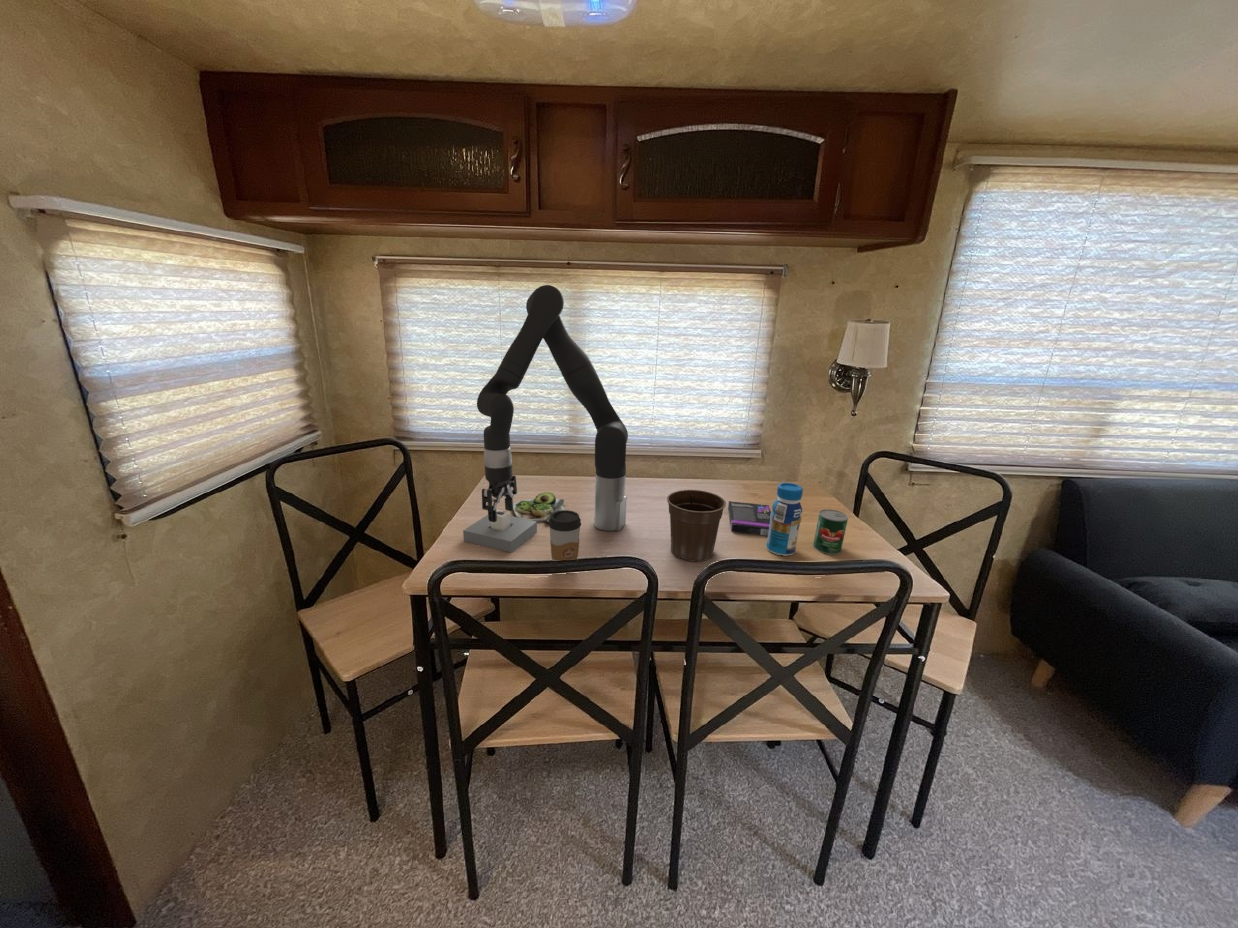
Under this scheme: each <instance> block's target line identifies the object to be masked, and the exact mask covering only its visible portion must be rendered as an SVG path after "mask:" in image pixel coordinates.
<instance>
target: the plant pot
mask: <svg viewBox="0 0 1238 928" xmlns="http://www.w3.org/2000/svg"><path fill="white" fill-rule="evenodd" d="M666 502H667V503H668V513H669V517H670V519H669V521H670V522H669V523H670V526H669V527H670V552H671V553H672V554H673V555H674V556H675V557H677V558H679V559H685V560H686V561H687V562H688V561H689V562H703V561H707V560H709V559H710V558H711V557H712V556H713V555H714V551H715V547H716V546H715V545H716V542H717V537H718V532H719V531H718V530H719V527H720V522H721V519H722V518H723V512H724V510H725V508H726V505H727V502H726V500H725V499H724V498H723V497H721V496H720V495H718V494H715V493H712V492H709V491H706V490H699V489H682V490H681V489H680V490H677V491H674V492H673V491H672V492H670V494H668V496H667V497H666Z"/></svg>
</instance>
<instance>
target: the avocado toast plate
mask: <svg viewBox="0 0 1238 928" xmlns="http://www.w3.org/2000/svg"><path fill="white" fill-rule="evenodd" d="M564 502H565V499H563V498H560V499H557V498H556V495H554V493H552V492H548V491H547V492H545V491H544V492H541V493H538V494H537V495H536V496H535V498H531V499H530V498H529V499H519V500H517V501H515V502H513V510H512V511H513V513H514V515H515V517H517V518H522V519H527V520H531V521H536V522H537V523H542V522H543V523H544V522H545V523H549V519H550V518H551V514H552V513H554V512H557V511H561V510H565V508H564V506H563V504H564ZM522 514H526V515H527V514H528V515H532V516H534V517H533V518H527V517H524V516H523V515H522Z"/></svg>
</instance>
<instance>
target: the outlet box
mask: <svg viewBox="0 0 1238 928" xmlns="http://www.w3.org/2000/svg"><path fill="white" fill-rule="evenodd" d="M537 523H538V522H536V521H531V520H527V519H522V518H517V517H516V516H512V515H510V527H509V528H508V529H507V530H505V531H504V532H503V531H499V530H494V529H491V522H490V521H489V519H488V514H487V515H485V516H483V517H481V518H480V519H479V520H477V521H476V522H473V524H470V526H468V527H466V528H465V529H463V530H462V534H463V542H464V543H470V544H473V545H479V546H480V547H481V546H482V547H487V548H490V549H495V550H499V551H502V550H504V551H503V552H506V551H508V552H507V553H511V552H512V553H513V552H515V551H516V550H517V549H518V548H519V547H521V546H522V545H523V544H524V543H525V542H527V541H528V540H530V538H532V537H531V536H532V535H533V536H534V535H536V533H538V525H537ZM515 549H516V550H515Z"/></svg>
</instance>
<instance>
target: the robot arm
mask: <svg viewBox="0 0 1238 928" xmlns="http://www.w3.org/2000/svg"><path fill="white" fill-rule="evenodd" d="M564 302H565V301H564V295H563V294H562V292H561V291H560V290H559V289H558V288H557V287H556V286H553V285H550V284H544V285H540V286H539V287H537V288H536V289H534V290H533V292H532V293H530V295H529V297H528V298H527V300H526V304H525V306H526V307H525V308H526V312H527V315H526V318H525V320H524V322H523V324H522V326H521V328H520V330H519V331H518V334H517V335H516V336H515V338H514V340H513V342H512V343H510V346H509V347H508V349H507V350H506V352H505V355H503V359H502V360H501V362H500V364H499V366H498V367H497V371H496V372H495V374H493V376H492V377H491V378H490V379H489V380H488V382H487V383H486V384H485V385H484V387H483V388H482V389H481V391H480V392H479V394H478V396H477V400H476V408H477V410H478V412H479V413H481V414H482V415H483V416H485V417H489V418H490V423H489V425H488V426H486V427H485V428H484V430H483V447H484V448H483V449H484V450H483V462H484V476H485V477H484V478H485V480H486V481H487V482H488V488H482V489H481V509H482V510H483V511H487V515H488V519H489V521H490V522H496V521H497V514H496V511H497V506H498V504H499V503H500V502H501V499H502V498H503V497H505V498H504V509H505V511H507V512H512V511H513V504H514V501H513V500H514V498H515V495H517V493H518V488H517V486H518V484H517V477H516V475H514V474H513V458H512V449H511V436H510V431H511V428H512V425H513V423H512V422H513V418H514V409H515V408H514V404H513V401H512V398H511V397H510V396H509V395H508V393H509V392H510V391H511V390H516V389H518V388H519V386H520V385H521V383H522V382H523V379H524V378H525V375H526V373H527V372H528V369H529V367H530V365H531V363H532V361H533V359H534V356H535V354H536V353H537V350H538V348H539V346H540V345H541V342H542V341H543V340H544V342H545V343H546V345H547V347H548V349H549V351H550V354H551V356H552V357H553V359H554V362H555V363H556V365H557V367H558V370H559V371H560V373H561V376H562V377H563V379H564V381H565V382H566V383H565V384H567V387H568V388H569V390H570V392H571V393H572V395H573V396H574V398H575V399H576V400H577V401H578V403H580V404H581V405H582V406H583V407H584V409H585V410H586V411H587V413H588V414H589V416H590V418H591V420H592V423H593V424H594V426H595V429H596V435H595V438H594V467H595V481H594V482H595V486H594V489H595V490H594V519H593V520H594V522H593V523H594V527H596V528H597V529H598V530H600V531H609V532H611V531H618V532H620V531H621V529H622V528H623V527H624V526H625V525H626V521H627V520H626V519H627V500H628V497H627V496H626V495H625V494H626V492H625V491H626V471H627V465H626V464H627V463H626V462H627V461H626V457H627V456H626V455H627V453H626V452H627V443H628V440H629V439H628V438H629V433H628V429H627V427H626V425H625V424H624V422H623V421H622V420H621V418H620V416H619V415H618V412H617V411H616V410H615V409H614V408H613V405H612V404H611V402H610V400H609V397H608V396H607V395H608V394H607V393H606V390H605V389H604V386H603V383H602V381H601V379H600V377H599V375H598V373H597V371H596V369H595V367H594V365H593V363H592V361H591V359H590V358H589V356H588V354H587V353H586V352H585V350H584V349H583V348H582V347H581V346H580V345H579V344H578V343H577V342H576V341H575V340H574V339H573V338H572V336H571V335H570V334H569V332H568V331H567V328H566V327H565V324H564V323H563V319H562V318H561V316H560V315H561V313H562V312H563V310H564V306H565V303H564Z"/></svg>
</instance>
